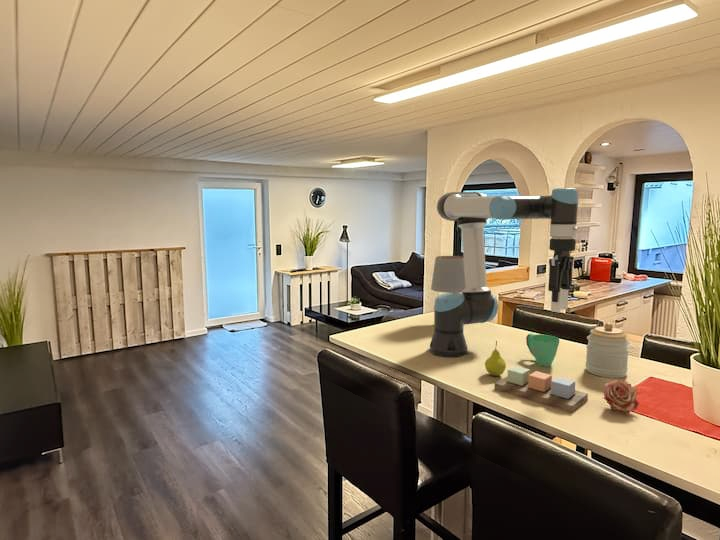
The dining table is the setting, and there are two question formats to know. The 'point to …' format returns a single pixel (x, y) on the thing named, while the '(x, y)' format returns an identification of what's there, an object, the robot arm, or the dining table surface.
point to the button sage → (518, 375)
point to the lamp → (448, 274)
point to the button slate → (563, 387)
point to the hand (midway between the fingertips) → (559, 310)
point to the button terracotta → (540, 381)
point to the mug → (543, 348)
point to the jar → (607, 352)
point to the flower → (621, 396)
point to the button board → (542, 395)
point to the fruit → (495, 364)
